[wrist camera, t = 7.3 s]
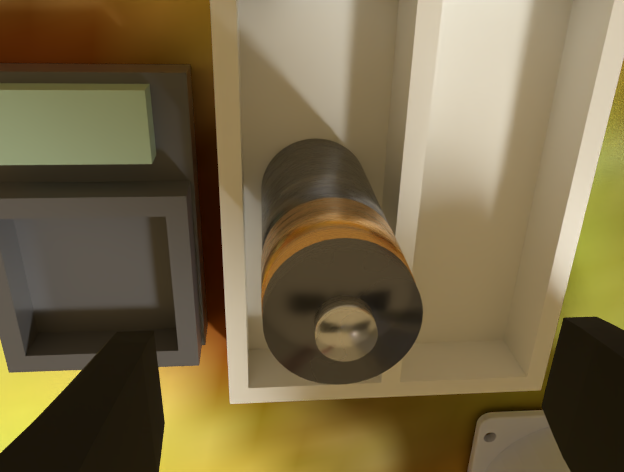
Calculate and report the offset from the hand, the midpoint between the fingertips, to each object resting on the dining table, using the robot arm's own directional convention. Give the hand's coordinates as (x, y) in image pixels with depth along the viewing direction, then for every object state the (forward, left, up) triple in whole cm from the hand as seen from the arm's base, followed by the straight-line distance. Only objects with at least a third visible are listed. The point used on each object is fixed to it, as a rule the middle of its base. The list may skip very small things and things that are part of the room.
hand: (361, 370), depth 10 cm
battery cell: (0, 0, -9) cm, 9 cm away
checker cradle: (-1, +7, -10) cm, 12 cm away
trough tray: (0, -2, -10) cm, 10 cm away
